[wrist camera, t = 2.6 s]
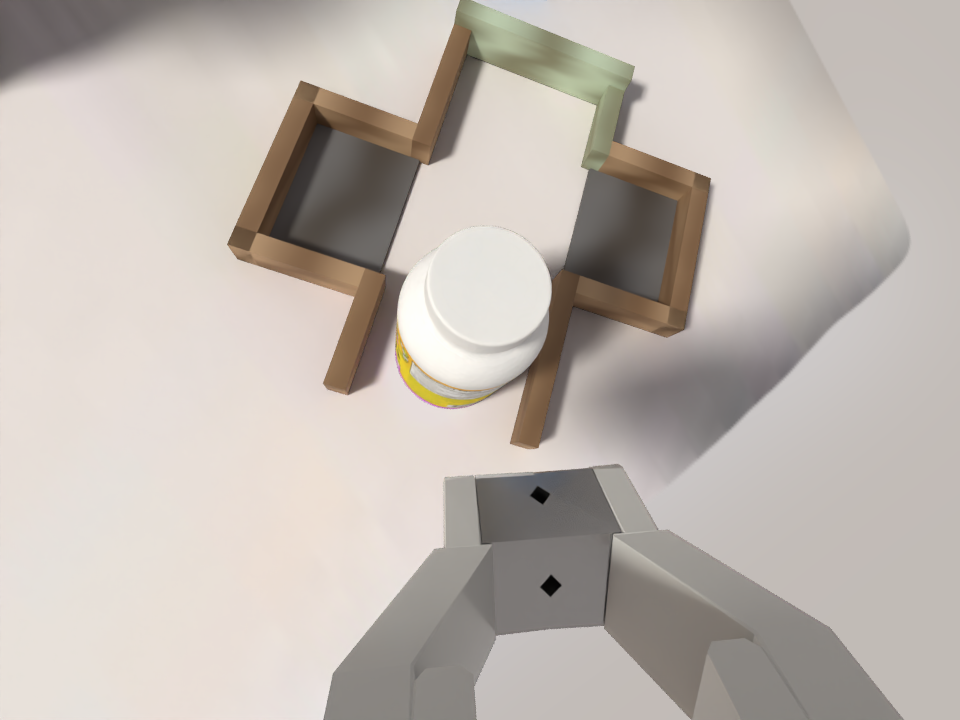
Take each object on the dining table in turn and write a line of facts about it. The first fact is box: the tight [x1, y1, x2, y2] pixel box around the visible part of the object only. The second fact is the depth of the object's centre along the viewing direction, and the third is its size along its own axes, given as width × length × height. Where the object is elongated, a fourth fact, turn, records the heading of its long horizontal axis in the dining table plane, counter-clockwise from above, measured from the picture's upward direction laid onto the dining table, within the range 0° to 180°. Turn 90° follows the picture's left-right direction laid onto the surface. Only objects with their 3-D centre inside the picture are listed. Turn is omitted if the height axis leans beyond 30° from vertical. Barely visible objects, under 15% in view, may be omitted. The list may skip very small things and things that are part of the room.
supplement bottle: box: [395, 225, 552, 409], centre depth 24 cm, size 7×7×13 cm
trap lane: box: [227, 0, 711, 449], centre depth 31 cm, size 27×27×3 cm
